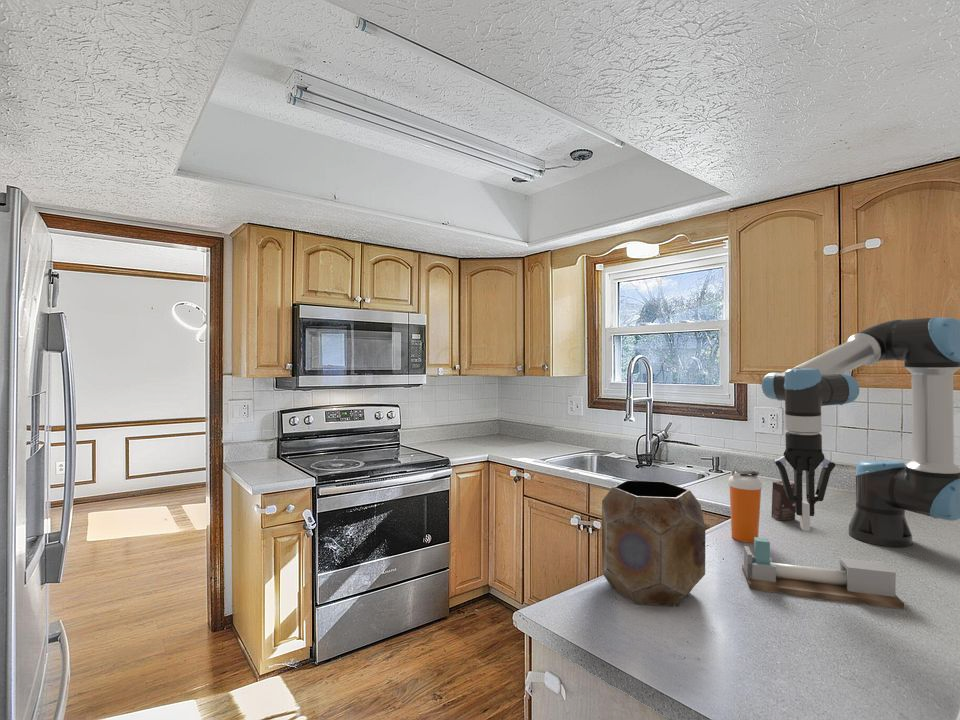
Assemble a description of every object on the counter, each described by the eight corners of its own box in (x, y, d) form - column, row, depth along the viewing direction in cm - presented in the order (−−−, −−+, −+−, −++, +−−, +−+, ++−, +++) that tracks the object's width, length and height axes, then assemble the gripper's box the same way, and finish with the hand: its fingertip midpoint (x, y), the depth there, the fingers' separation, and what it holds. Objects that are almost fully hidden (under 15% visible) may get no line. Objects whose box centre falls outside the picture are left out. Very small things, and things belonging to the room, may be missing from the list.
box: (781, 521, 173) (782, 484, 173) (771, 517, 177) (771, 481, 177) (796, 519, 175) (797, 483, 174) (785, 515, 179) (785, 480, 179)
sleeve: (884, 585, 122) (885, 562, 122) (895, 596, 117) (895, 572, 117) (839, 580, 125) (839, 557, 125) (847, 591, 120) (848, 567, 120)
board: (882, 585, 125) (882, 580, 125) (904, 609, 114) (904, 603, 114) (742, 569, 135) (742, 564, 135) (749, 589, 123) (749, 583, 123)
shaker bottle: (765, 544, 152) (766, 475, 152) (732, 542, 154) (733, 474, 153) (756, 534, 161) (756, 468, 160) (724, 532, 162) (725, 467, 162)
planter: (579, 579, 129) (579, 482, 128) (659, 564, 138) (659, 473, 138) (638, 622, 108) (639, 507, 108) (727, 601, 117) (728, 495, 117)
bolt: (846, 582, 124) (846, 546, 124) (850, 588, 121) (851, 550, 121) (753, 571, 130) (753, 536, 130) (755, 576, 127) (756, 541, 127)
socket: (770, 572, 130) (771, 548, 130) (775, 582, 124) (776, 557, 124) (743, 569, 132) (744, 546, 132) (747, 578, 126) (747, 554, 126)
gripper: (829, 430, 129) (831, 525, 130) (769, 429, 133) (771, 521, 134) (839, 435, 122) (841, 536, 123) (776, 434, 126) (778, 531, 127)
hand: (805, 528), depth 128 cm, fingers closed
